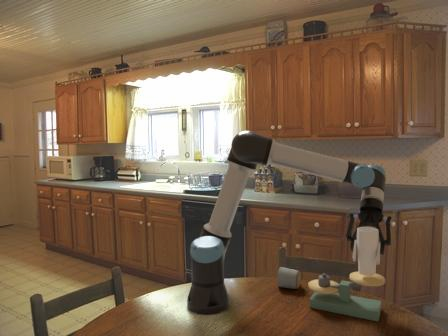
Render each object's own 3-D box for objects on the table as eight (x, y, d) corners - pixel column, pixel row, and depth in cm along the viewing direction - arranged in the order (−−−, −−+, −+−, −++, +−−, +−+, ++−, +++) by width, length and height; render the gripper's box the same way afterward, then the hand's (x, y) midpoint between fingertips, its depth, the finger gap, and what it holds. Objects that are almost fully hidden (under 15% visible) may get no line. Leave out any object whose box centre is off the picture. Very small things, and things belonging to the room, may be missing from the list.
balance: (304, 307, 123) (304, 273, 122) (312, 295, 133) (312, 263, 132) (383, 324, 111) (383, 286, 110) (385, 309, 121) (386, 274, 120)
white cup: (368, 278, 113) (369, 232, 112) (351, 272, 119) (352, 228, 118) (382, 275, 116) (383, 230, 115) (365, 268, 122) (366, 225, 121)
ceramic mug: (297, 292, 135) (297, 272, 135) (276, 289, 138) (276, 270, 138) (302, 282, 145) (302, 264, 145) (282, 280, 148) (282, 262, 148)
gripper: (402, 210, 125) (399, 271, 112) (344, 206, 134) (336, 262, 121) (402, 198, 120) (399, 259, 107) (342, 195, 129) (333, 251, 116)
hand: (365, 260), depth 114 cm, fingers closed on white cup, 6 cm apart
